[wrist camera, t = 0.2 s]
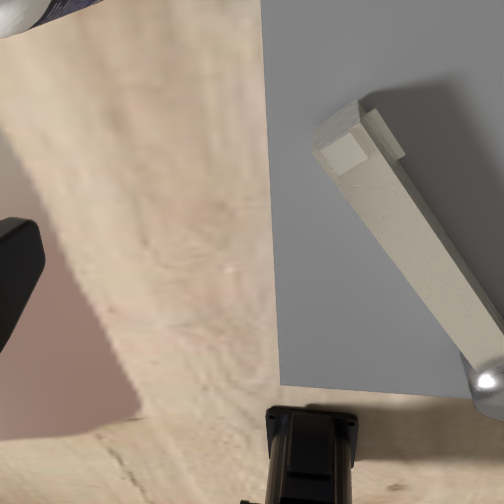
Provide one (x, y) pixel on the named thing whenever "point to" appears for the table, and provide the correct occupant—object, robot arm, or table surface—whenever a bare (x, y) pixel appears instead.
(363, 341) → the dial plate
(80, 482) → the table surface
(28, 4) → the pill bottle
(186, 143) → the table surface
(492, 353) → the pointer
